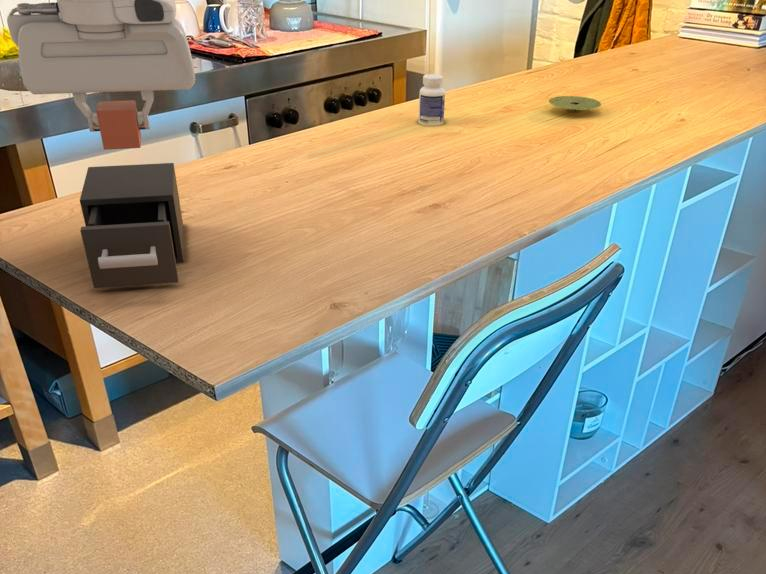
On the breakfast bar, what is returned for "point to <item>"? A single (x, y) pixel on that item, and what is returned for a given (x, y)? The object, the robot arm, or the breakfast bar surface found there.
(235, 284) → the breakfast bar surface
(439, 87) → the pill bottle
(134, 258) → the drawer
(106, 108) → the block
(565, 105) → the grey green disc
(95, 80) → the robot arm
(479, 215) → the breakfast bar surface
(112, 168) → the cabinet
